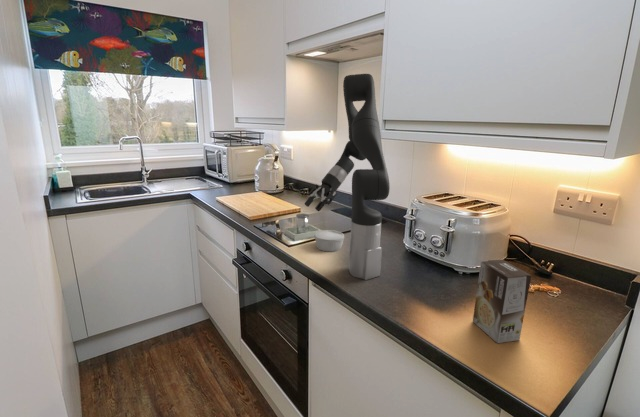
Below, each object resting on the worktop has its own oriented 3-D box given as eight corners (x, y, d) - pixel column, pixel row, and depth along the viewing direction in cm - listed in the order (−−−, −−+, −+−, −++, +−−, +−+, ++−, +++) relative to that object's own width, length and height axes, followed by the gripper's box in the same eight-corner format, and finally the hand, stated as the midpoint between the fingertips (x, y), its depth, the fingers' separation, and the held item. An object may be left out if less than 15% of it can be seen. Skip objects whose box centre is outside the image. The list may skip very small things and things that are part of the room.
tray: (321, 235, 143) (321, 230, 142) (294, 241, 136) (294, 235, 136) (309, 229, 151) (309, 224, 150) (283, 234, 144) (283, 228, 144)
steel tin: (311, 234, 143) (311, 215, 141) (300, 236, 140) (300, 217, 138) (304, 230, 147) (304, 212, 145) (294, 232, 144) (294, 214, 142)
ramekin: (348, 245, 134) (348, 232, 132) (337, 255, 124) (337, 241, 122) (321, 240, 138) (322, 228, 137) (309, 249, 128) (309, 236, 127)
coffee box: (521, 340, 78) (534, 275, 73) (497, 344, 76) (508, 278, 72) (493, 317, 86) (502, 258, 82) (470, 320, 85) (479, 260, 81)
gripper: (320, 170, 150) (297, 198, 147) (339, 175, 138) (315, 206, 135) (330, 181, 154) (307, 209, 151) (349, 186, 142) (326, 217, 139)
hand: (311, 207), depth 143 cm, fingers open, 8 cm apart
